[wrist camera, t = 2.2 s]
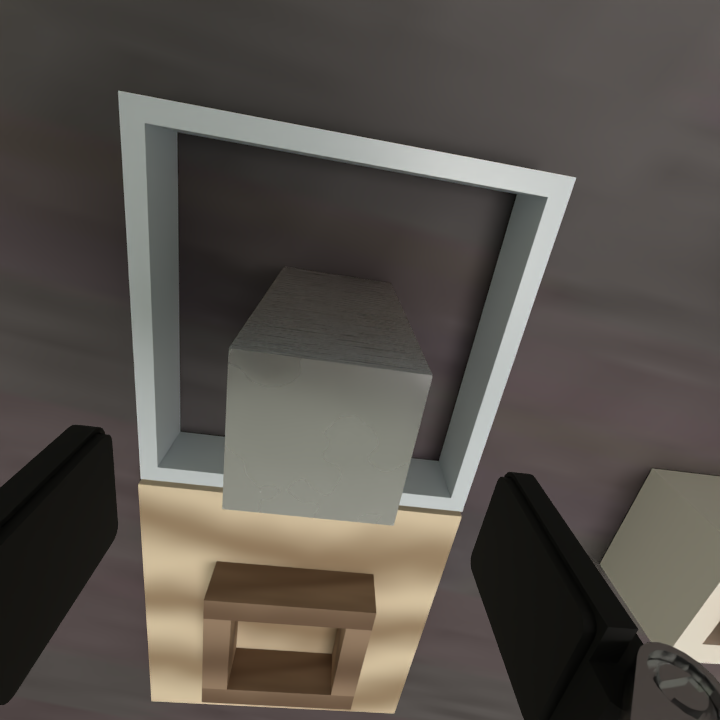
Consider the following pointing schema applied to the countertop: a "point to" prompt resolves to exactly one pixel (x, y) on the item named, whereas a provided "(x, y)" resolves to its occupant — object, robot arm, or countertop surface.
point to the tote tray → (160, 161)
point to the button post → (672, 562)
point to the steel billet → (323, 401)
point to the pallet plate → (284, 601)
